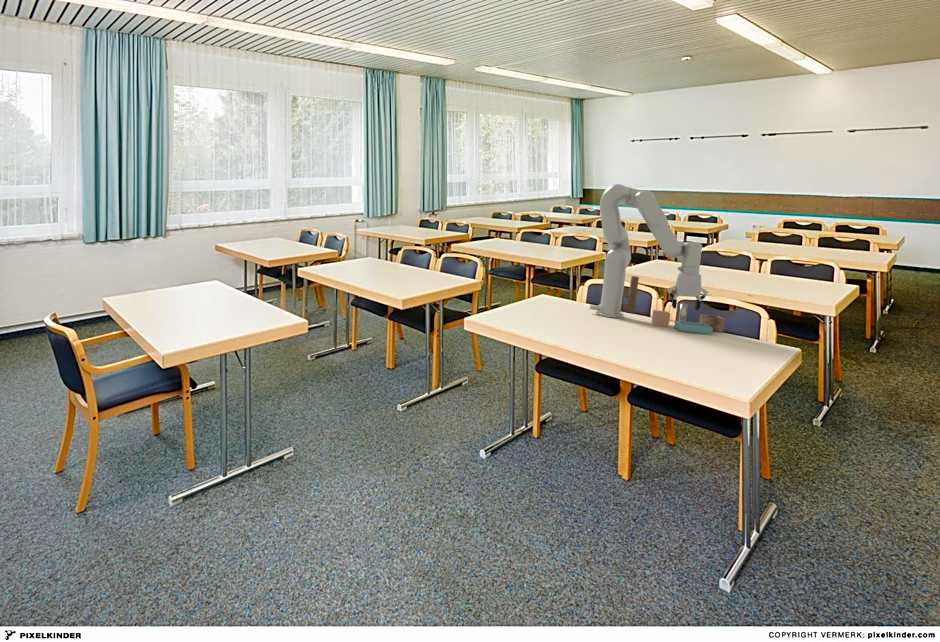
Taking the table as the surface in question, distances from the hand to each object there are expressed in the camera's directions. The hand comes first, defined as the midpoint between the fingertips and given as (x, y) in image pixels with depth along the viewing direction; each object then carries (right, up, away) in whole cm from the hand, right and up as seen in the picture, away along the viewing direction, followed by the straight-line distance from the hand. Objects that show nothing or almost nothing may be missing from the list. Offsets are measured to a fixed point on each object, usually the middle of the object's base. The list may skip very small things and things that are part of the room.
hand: (685, 309), depth 259 cm
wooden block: (-18, -1, +34) cm, 38 cm away
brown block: (+10, -9, -2) cm, 14 cm away
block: (-12, -7, 0) cm, 14 cm away
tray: (0, -10, -9) cm, 13 cm away
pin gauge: (-1, -8, +2) cm, 8 cm away
